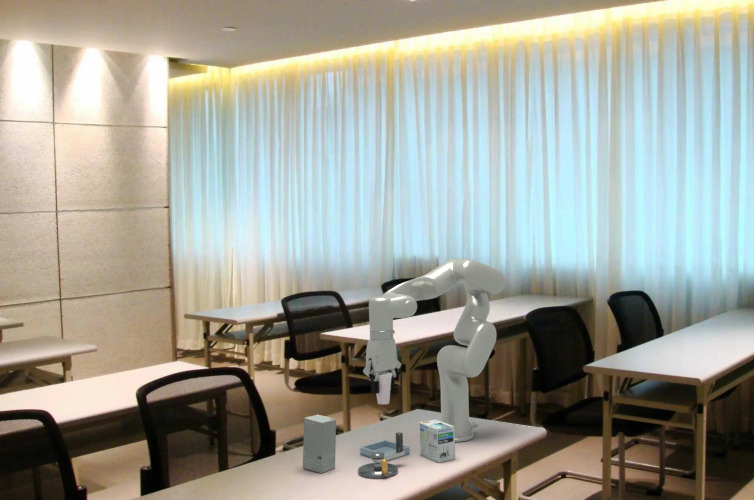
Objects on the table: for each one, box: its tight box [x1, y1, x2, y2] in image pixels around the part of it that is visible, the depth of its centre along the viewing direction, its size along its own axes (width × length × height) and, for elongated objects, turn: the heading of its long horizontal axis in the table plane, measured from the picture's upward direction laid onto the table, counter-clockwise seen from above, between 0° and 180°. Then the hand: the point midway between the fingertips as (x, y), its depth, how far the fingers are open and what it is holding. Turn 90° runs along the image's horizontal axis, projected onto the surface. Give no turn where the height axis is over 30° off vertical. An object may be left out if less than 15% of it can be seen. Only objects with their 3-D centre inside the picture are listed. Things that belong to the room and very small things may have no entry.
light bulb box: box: [419, 419, 456, 463], centre depth 255 cm, size 11×7×11 cm, turn 31°
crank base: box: [357, 459, 399, 480], centre depth 242 cm, size 12×12×6 cm
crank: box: [370, 431, 405, 463], centre depth 245 cm, size 12×4×7 cm, turn 131°
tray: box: [359, 439, 410, 462], centre depth 260 cm, size 11×11×2 cm
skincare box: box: [302, 414, 337, 474], centre depth 247 cm, size 8×7×16 cm
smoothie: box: [374, 371, 392, 406], centre depth 258 cm, size 6×6×14 cm
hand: (383, 390), depth 259 cm, fingers closed on smoothie, 6 cm apart
